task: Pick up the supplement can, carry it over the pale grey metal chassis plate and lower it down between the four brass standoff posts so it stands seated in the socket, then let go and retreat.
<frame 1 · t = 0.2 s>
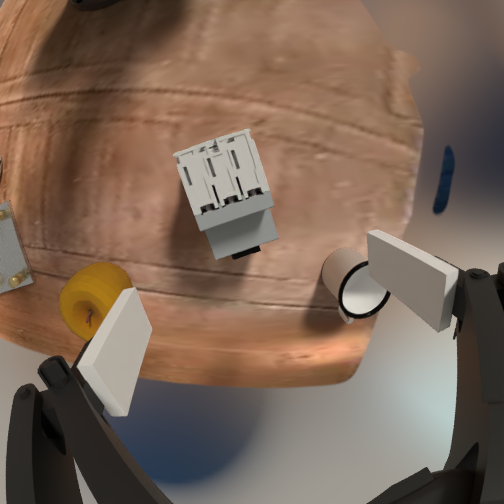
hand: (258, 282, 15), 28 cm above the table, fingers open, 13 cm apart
mug: (341, 276, 47), on the table
circuit breaker: (227, 193, 41), on the table
apple: (113, 281, 42), on the table
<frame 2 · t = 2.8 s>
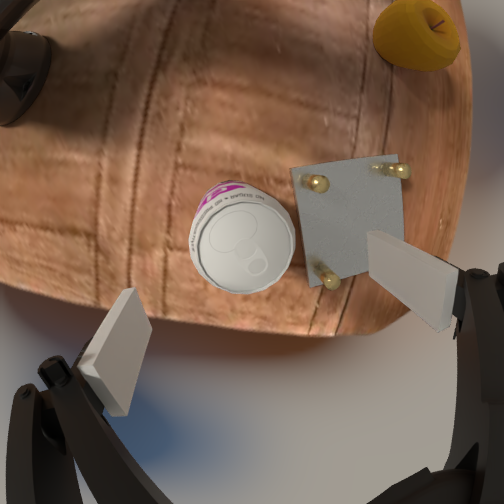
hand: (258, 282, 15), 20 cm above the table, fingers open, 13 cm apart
chassis: (354, 217, 36), on the table
supplement can: (231, 213, 34), on the table
apple: (389, 48, 29), on the table
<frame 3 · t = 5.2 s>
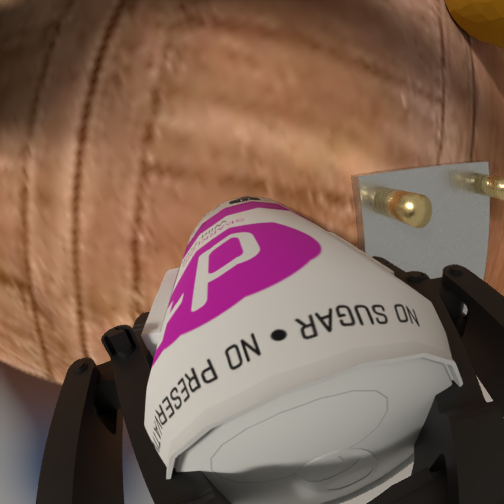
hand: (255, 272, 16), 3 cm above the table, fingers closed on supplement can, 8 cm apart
chassis: (434, 255, 21), on the table
supplement can: (248, 256, 19), on the table, touching gripper
apple: (461, 16, 14), on the table
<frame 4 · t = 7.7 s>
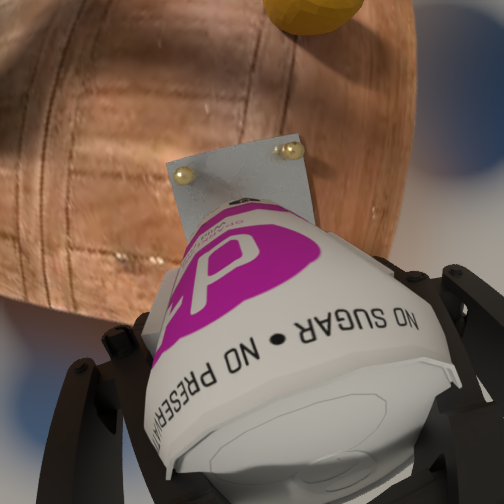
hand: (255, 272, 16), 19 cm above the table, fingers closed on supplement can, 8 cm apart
chassis: (246, 209, 34), on the table
supplement can: (248, 257, 19), point 16 cm above the table, touching gripper
apple: (293, 19, 27), on the table
when the fingers open (5 cm above the table, at t = 10.5 s): supplement can drops 1 cm, resting on chassis.
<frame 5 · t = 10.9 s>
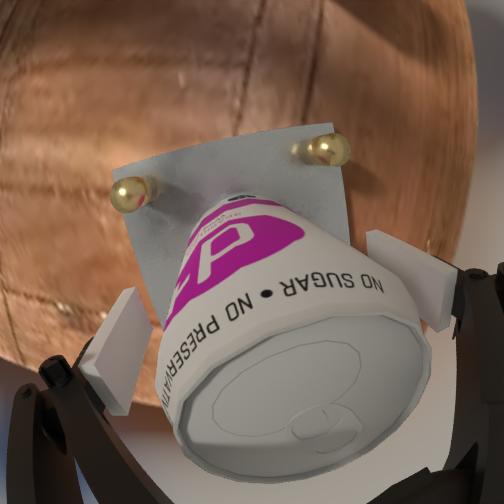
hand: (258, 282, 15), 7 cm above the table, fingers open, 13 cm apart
chassis: (245, 246, 21), on the table
supplement can: (246, 250, 20), point 1 cm above the table, touching chassis
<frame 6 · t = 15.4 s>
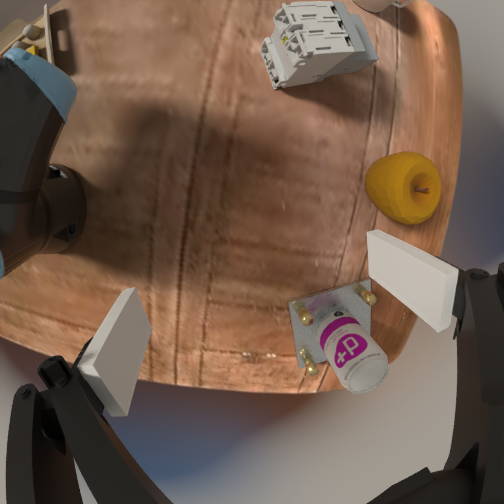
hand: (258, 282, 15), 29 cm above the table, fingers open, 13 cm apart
mug: (370, 0, 32), on the table
chassis: (332, 324, 51), on the table
supplement can: (334, 326, 50), point 1 cm above the table, touching chassis
toy food set: (12, 76, 28), on the table
circuit breaker: (308, 62, 36), on the table
apple: (379, 182, 44), on the table
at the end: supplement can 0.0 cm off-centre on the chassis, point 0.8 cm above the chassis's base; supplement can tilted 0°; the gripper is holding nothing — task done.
